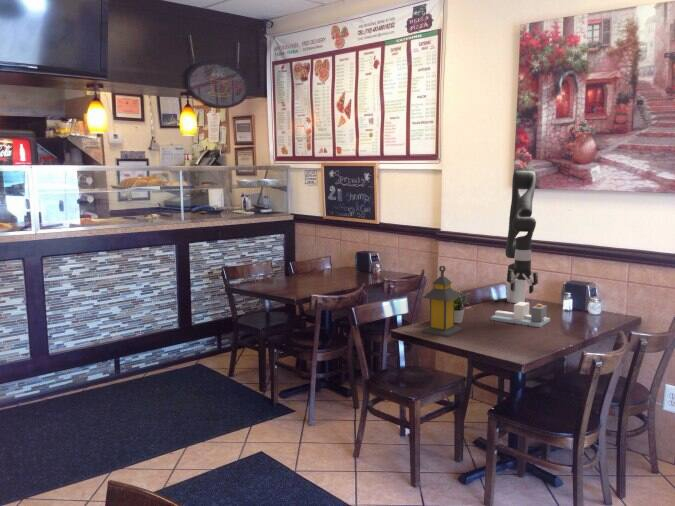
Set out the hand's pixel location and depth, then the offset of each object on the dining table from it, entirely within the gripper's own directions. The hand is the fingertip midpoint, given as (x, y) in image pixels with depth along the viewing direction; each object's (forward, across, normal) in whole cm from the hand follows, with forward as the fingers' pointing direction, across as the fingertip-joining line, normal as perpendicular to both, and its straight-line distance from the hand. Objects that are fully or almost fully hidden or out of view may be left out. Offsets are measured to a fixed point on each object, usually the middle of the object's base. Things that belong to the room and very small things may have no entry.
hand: (521, 292), depth 287 cm
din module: (+12, 0, 0) cm, 12 cm away
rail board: (+14, 0, 0) cm, 14 cm away
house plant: (+14, +23, +20) cm, 34 cm away
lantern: (+14, +22, +38) cm, 46 cm away
